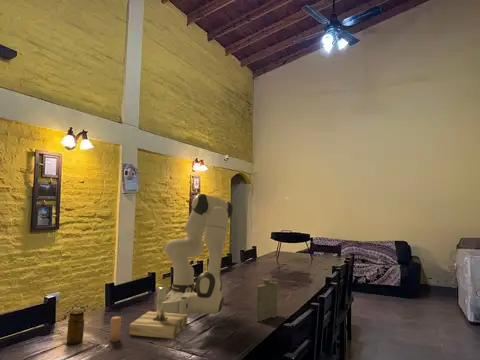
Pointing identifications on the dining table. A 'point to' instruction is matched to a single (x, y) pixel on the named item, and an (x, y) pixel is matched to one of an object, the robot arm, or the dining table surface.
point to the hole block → (158, 325)
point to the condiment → (75, 329)
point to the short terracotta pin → (115, 329)
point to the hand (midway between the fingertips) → (159, 300)
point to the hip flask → (266, 300)
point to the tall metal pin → (161, 296)
